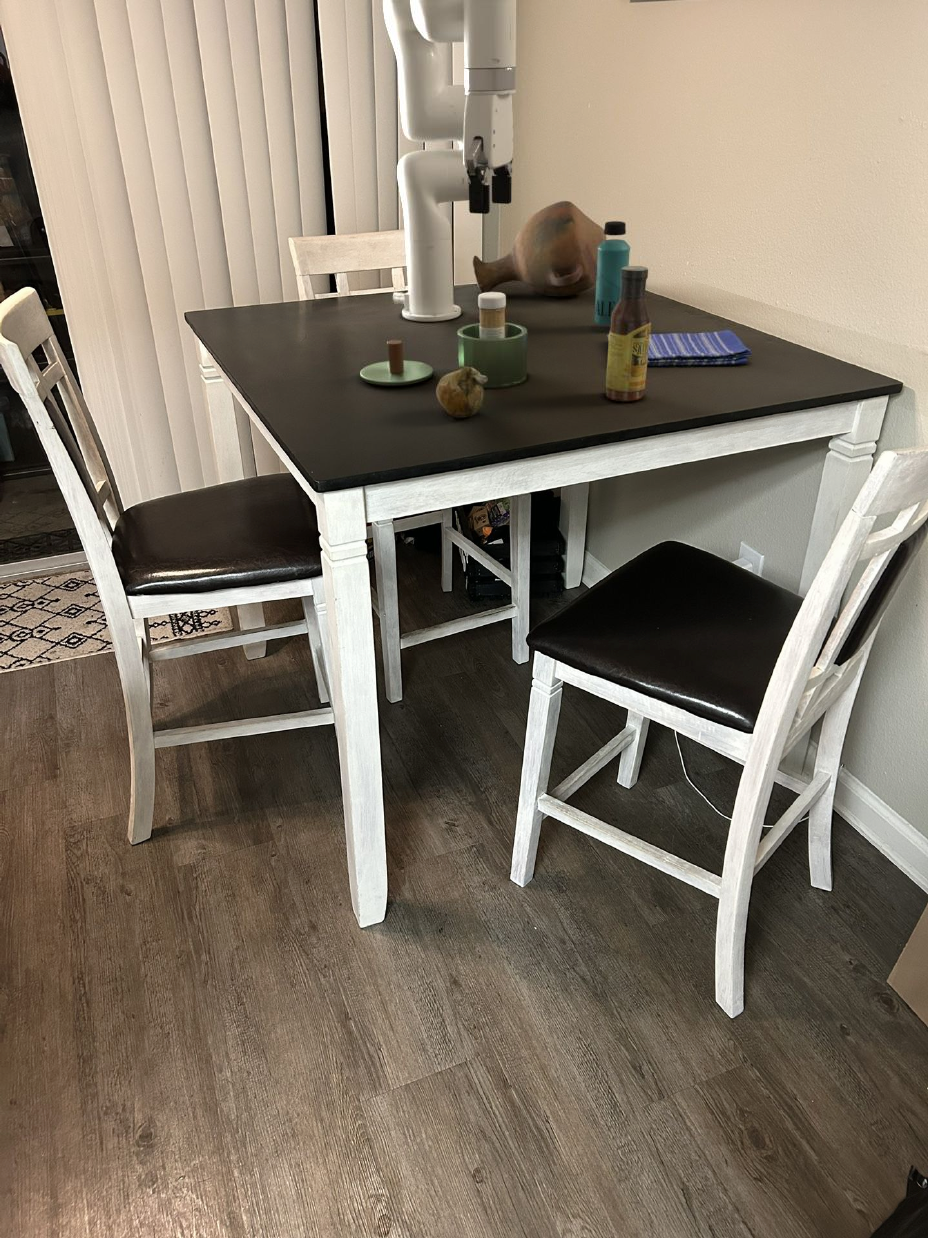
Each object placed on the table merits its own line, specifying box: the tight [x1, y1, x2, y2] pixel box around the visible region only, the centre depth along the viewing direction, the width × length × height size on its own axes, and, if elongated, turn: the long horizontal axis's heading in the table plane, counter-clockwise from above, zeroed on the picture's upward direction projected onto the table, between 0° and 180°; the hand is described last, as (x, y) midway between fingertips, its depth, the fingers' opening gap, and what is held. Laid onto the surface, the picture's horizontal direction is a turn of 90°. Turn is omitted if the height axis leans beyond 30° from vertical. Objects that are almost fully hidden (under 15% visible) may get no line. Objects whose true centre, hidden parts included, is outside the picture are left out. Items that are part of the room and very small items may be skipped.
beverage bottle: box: [593, 220, 631, 326], centre depth 178 cm, size 6×7×20 cm
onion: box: [435, 366, 488, 419], centre depth 141 cm, size 8×8×8 cm
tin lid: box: [359, 339, 434, 387], centre depth 158 cm, size 13×13×6 cm
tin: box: [457, 322, 528, 389], centre depth 156 cm, size 12×12×8 cm
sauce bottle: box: [605, 265, 652, 403], centre depth 143 cm, size 7×6×20 cm
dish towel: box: [607, 329, 753, 367], centre depth 168 cm, size 17×24×3 cm
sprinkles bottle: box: [477, 291, 507, 339], centre depth 155 cm, size 5×5×14 cm
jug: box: [472, 200, 607, 298], centre depth 205 cm, size 20×20×30 cm
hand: (490, 207), depth 144 cm, fingers open, 9 cm apart
